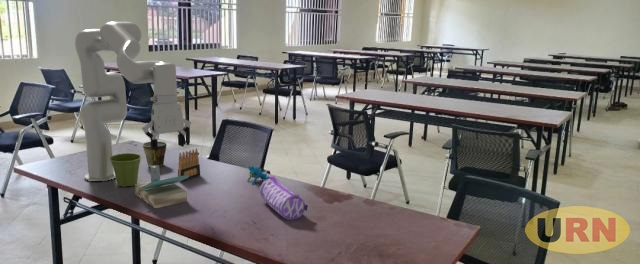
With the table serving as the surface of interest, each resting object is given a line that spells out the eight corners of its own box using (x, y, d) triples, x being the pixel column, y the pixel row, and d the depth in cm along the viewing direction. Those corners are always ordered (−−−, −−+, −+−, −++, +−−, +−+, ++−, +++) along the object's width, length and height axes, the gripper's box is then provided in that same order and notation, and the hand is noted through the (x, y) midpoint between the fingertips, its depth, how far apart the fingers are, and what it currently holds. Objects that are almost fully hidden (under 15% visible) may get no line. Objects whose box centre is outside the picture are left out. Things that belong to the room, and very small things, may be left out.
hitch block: (135, 194, 197) (134, 184, 196) (165, 188, 204) (165, 178, 203) (155, 208, 183) (154, 197, 182) (187, 201, 191) (186, 190, 190)
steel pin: (150, 192, 197) (148, 166, 194) (158, 190, 199) (157, 164, 196) (153, 194, 194) (152, 168, 192) (162, 192, 196) (160, 166, 194)
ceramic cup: (144, 163, 237) (142, 141, 234) (167, 161, 240) (166, 140, 237) (143, 171, 225) (142, 148, 222) (168, 170, 228) (167, 147, 225)
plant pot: (104, 187, 203) (102, 159, 201) (123, 178, 214) (121, 152, 212) (132, 190, 200) (130, 162, 198) (149, 181, 212) (147, 154, 209)
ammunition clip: (181, 182, 212) (180, 153, 209) (177, 181, 213) (176, 152, 210) (200, 175, 221) (199, 148, 218) (197, 175, 222) (196, 147, 219)
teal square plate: (141, 190, 189) (141, 187, 189) (175, 183, 198) (175, 180, 198) (153, 184, 180) (153, 181, 180) (188, 177, 188) (188, 174, 189)
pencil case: (308, 219, 178) (308, 192, 176) (283, 223, 173) (283, 196, 171) (279, 198, 196) (279, 174, 194) (256, 202, 192) (256, 177, 190)
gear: (275, 180, 212) (259, 165, 207) (267, 192, 210) (250, 178, 205) (260, 177, 221) (244, 163, 215) (252, 188, 218) (236, 174, 213)
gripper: (145, 103, 171) (148, 154, 175) (194, 98, 182) (196, 146, 186) (136, 100, 177) (139, 149, 180) (184, 95, 188) (186, 142, 191)
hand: (168, 147), depth 183 cm, fingers open, 9 cm apart
